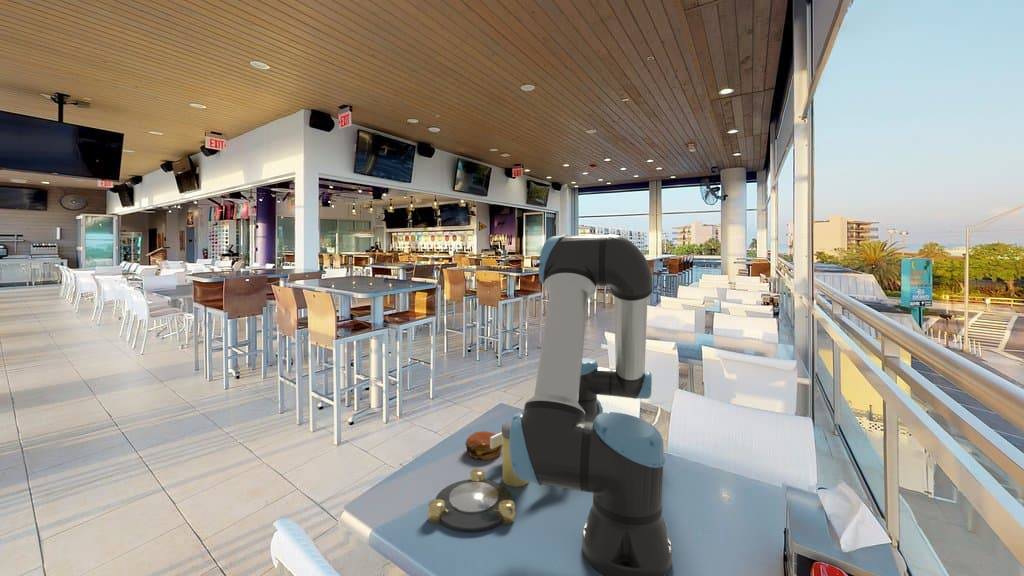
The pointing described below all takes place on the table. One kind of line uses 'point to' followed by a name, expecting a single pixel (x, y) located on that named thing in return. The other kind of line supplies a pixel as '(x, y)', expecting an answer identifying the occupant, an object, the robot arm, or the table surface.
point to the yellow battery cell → (509, 460)
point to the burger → (482, 446)
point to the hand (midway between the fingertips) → (512, 452)
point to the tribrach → (473, 504)
